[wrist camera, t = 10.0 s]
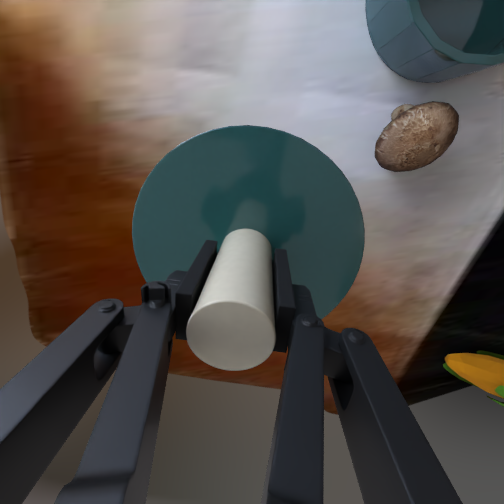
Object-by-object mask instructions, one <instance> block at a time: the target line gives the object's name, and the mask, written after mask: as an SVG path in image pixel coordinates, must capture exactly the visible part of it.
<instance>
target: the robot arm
mask: <svg viewBox="0 0 504 504" xmlns="http://www.w3.org/2000/svg"><path fill="white" fill-rule="evenodd" d="M216 255H217V241H213V240H206V241H205V243H204V245H203V246H202V248H201V250H200V251H199V253H198V255H197V256H196V258H195V260H194V262H193V263H192V265H191V267H190V268H189V270H188V271H180V270H176V271H174V272H173V273H171V274H170V275H169V276H168V278H167V280H165V281H152V282H148V283H146V284H144V285H143V286H142V287H141V294H142V305H140V306H132V307H123V302H121V301H120V300H118V299H105V300H101V301H99V302H97V303H95V304H94V305H92V306H91V307H90V308H89V309H88V310H87V311H86V312H85V313H84V314H82V315H81V316H80V317H79V318H78V319H77V320H76V321H75V322H74V323H72V324H71V325H70V326H69V327H68V328H67V329H66V330H65V331H64V332H63V333H61V334H60V335H59V336H58V337H57V338H56V339H55V340H54V341H53V342H52V343H50V344H49V345H48V346H47V347H46V348H45V349H44V350H43V351H42V352H41V353H39V354H38V355H37V356H36V357H35V358H34V359H33V360H32V361H31V362H30V363H29V364H27V365H26V366H25V367H24V368H23V369H22V370H21V371H20V372H19V373H17V374H16V375H15V376H14V377H13V378H12V379H11V380H10V381H9V382H8V383H6V384H5V385H4V386H3V387H2V388H1V389H0V504H22V503H23V501H24V500H25V499H26V497H27V496H28V494H29V492H30V491H31V490H32V489H33V487H34V486H35V484H36V483H37V481H38V480H39V479H40V477H41V476H42V474H43V473H44V471H45V470H46V468H47V467H48V466H49V464H50V463H51V461H52V460H53V458H54V457H55V455H56V454H57V452H58V451H59V450H60V448H61V447H62V445H63V444H64V442H65V441H66V440H67V438H68V437H69V436H70V434H71V433H72V431H73V429H74V428H75V427H76V425H77V424H78V422H79V421H80V420H81V418H82V417H83V415H84V414H85V412H86V411H87V410H88V408H89V407H90V405H91V404H92V403H93V401H94V400H95V398H96V397H97V395H98V394H99V393H100V391H101V390H102V388H103V387H104V385H105V384H106V382H107V381H108V380H109V378H110V377H111V375H112V374H113V372H114V371H115V370H116V372H115V375H114V377H113V380H112V382H111V385H110V387H109V390H108V393H107V395H106V398H105V400H104V403H103V405H102V408H101V411H100V413H99V416H98V418H97V421H96V424H95V426H94V429H93V432H92V434H91V436H90V439H89V442H88V444H87V447H86V449H85V452H84V455H83V457H82V460H81V462H80V465H79V467H78V470H77V473H76V475H75V477H74V478H73V480H72V481H71V482H70V483H68V484H67V485H65V486H64V487H63V488H62V490H61V491H60V493H59V494H58V496H57V499H56V501H55V503H54V504H145V503H146V497H147V491H148V485H149V479H150V474H151V468H152V462H153V456H154V450H155V444H156V439H157V433H158V427H159V421H160V415H161V409H162V404H163V398H164V392H165V386H166V380H167V375H168V369H169V363H170V357H171V351H172V345H173V341H172V337H173V335H174V333H175V331H176V339H182V340H187V337H186V326H187V323H188V320H189V318H190V315H191V313H192V311H193V308H194V306H195V304H196V301H197V299H198V297H199V294H200V292H201V290H202V287H203V285H204V283H205V280H206V278H207V276H208V273H209V271H210V269H211V266H212V264H213V262H214V259H215V257H216ZM273 276H274V298H275V320H276V344H275V347H274V349H273V351H277V352H285V353H286V351H287V346H288V355H287V360H286V364H285V368H284V377H283V382H282V388H281V394H280V399H279V405H278V410H277V416H276V422H275V427H274V433H273V438H272V444H271V450H270V455H269V461H268V466H267V472H266V478H265V483H264V489H263V495H262V500H261V504H323V460H324V456H323V455H324V441H323V440H324V375H326V376H328V380H329V383H330V387H331V390H332V394H333V397H334V401H335V404H336V408H337V411H338V414H339V418H340V421H341V425H342V428H343V432H344V435H345V438H346V442H347V445H348V449H349V452H350V456H351V459H352V463H353V466H354V469H355V473H356V476H357V479H358V483H359V487H360V490H361V493H362V497H363V500H364V504H463V503H462V502H461V500H460V498H459V496H458V495H457V493H456V491H455V489H454V487H453V486H452V484H451V482H450V480H449V478H448V477H447V475H446V473H445V471H444V469H443V468H442V466H441V464H440V462H439V460H438V459H437V457H436V455H435V453H434V452H433V450H432V448H431V446H430V444H429V442H428V441H427V439H426V437H425V435H424V434H423V432H422V430H421V428H420V426H419V424H418V423H417V421H416V419H415V417H414V415H413V414H412V412H411V410H410V408H409V407H408V405H407V403H406V401H405V399H404V398H403V396H402V394H401V392H400V390H399V389H398V387H397V385H396V383H395V381H394V380H393V378H392V376H391V374H390V372H389V371H388V369H387V367H386V365H385V363H384V362H383V360H382V358H381V356H380V354H379V353H378V351H377V349H376V347H375V345H374V344H373V342H372V340H371V339H370V337H369V336H368V335H367V334H365V333H364V332H362V331H360V330H358V329H354V328H346V329H344V330H343V331H342V333H338V332H335V331H332V330H330V329H328V328H326V327H324V324H323V321H322V320H321V319H320V318H318V317H317V315H316V311H315V307H314V304H313V300H312V297H311V293H310V290H309V289H308V288H307V287H306V286H304V285H296V284H292V280H291V274H290V268H289V262H288V256H287V250H285V249H277V248H275V254H274V260H273ZM116 368H117V369H116Z"/></svg>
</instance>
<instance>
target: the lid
mask: <svg viewBox="0 0 504 504" xmlns="http://www.w3.org/2000/svg"><path fill="white" fill-rule="evenodd" d="M364 234H365V229H364V222H363V215H362V212H361V208H360V205H359V202H358V199H357V197H356V195H355V192H354V190H353V188H352V186H351V184H350V183H349V181H348V180H347V178H346V177H345V175H344V174H343V172H342V171H341V170H340V169H339V168H338V167H337V166H336V164H335V163H334V162H333V161H332V160H331V159H330V158H329V157H328V156H326V155H325V154H324V153H323V152H321V151H320V150H319V149H318V148H316V147H315V146H313V145H311V144H310V143H308V142H306V141H305V140H303V139H301V138H299V137H296V136H294V135H292V134H289V133H287V132H284V131H280V130H276V129H272V128H268V127H261V126H251V125H243V126H228V127H223V128H218V129H213V130H210V131H207V132H204V133H201V134H199V135H196V136H194V137H192V138H190V139H188V140H186V141H185V142H183V143H181V144H179V145H178V146H177V147H175V148H174V149H173V150H171V151H170V152H169V153H167V154H166V155H165V156H164V157H163V159H162V160H161V161H160V162H159V163H158V164H157V165H156V166H155V167H154V169H153V170H152V171H151V173H150V174H149V176H148V177H147V178H146V180H145V182H144V184H143V186H142V188H141V190H140V193H139V196H138V199H137V202H136V205H135V209H134V215H133V224H132V237H133V246H134V251H135V255H136V259H137V262H138V265H139V268H140V270H141V273H142V275H143V277H144V278H145V280H146V282H147V283H148V282H152V281H165V280H167V278H168V276H169V275H170V274H171V273H173V272H174V271H176V270H180V271H188V270H189V268H190V267H191V265H192V263H193V262H194V260H195V258H196V256H197V255H198V253H199V251H200V250H201V248H202V246H203V245H204V243H205V241H206V240H213V241H217V255H216V257H215V259H214V262H213V264H212V266H211V269H210V271H209V273H208V276H207V278H206V280H205V283H204V285H203V287H202V290H201V292H200V294H199V297H198V299H197V301H196V304H195V306H194V308H193V311H192V313H191V315H190V318H189V320H188V323H187V326H186V337H187V341H188V344H189V346H190V348H191V350H192V351H193V352H194V354H195V355H196V356H197V357H198V358H200V359H201V360H202V361H204V362H205V363H207V364H209V365H211V366H213V367H216V368H219V369H224V370H232V371H237V370H245V369H249V368H253V367H255V366H257V365H259V364H261V363H262V362H264V361H265V360H266V359H267V358H268V357H269V356H270V354H271V353H272V351H273V349H274V347H275V344H276V320H275V298H274V276H273V260H274V254H275V248H277V249H285V250H287V256H288V262H289V268H290V274H291V280H292V284H296V285H304V286H306V287H307V288H308V289H309V290H310V293H311V297H312V300H313V304H314V307H315V311H316V315H317V317H318V318H320V319H322V318H324V317H325V316H326V315H328V314H329V313H330V312H331V311H332V310H333V309H334V308H335V307H336V306H337V305H338V304H339V303H340V301H341V300H342V299H343V298H344V297H345V295H346V294H347V292H348V291H349V289H350V287H351V286H352V284H353V282H354V280H355V278H356V276H357V273H358V271H359V268H360V264H361V261H362V257H363V250H364Z"/></svg>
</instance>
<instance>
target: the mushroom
mask: <svg viewBox="0 0 504 504" xmlns="http://www.w3.org/2000/svg"><path fill="white" fill-rule="evenodd" d="M391 119H392V121H391V122H390V123H389V124H388V125H387V126H386V127H385V128H384V130H383V132H382V133H381V135H380V137H379V138H378V140H377V142H376V147H375V158H376V160H377V161H378V163H379V165H380V166H381V167H382V168H384V169H387V170H390V171H394V172H403V171H411V170H415V169H418V168H421V167H424V166H426V165H428V164H430V163H432V162H433V161H435V160H436V159H437V158H439V157H440V156H441V155H442V154H443V153H444V152H445V151H446V150H447V148H448V147H449V146H450V145H451V143H452V142H453V140H454V138H455V136H456V134H457V131H458V123H459V115H458V113H457V111H456V110H455V109H454V108H453V107H452V106H451V105H450V104H449V103H443V102H428V103H424V104H420V105H415V106H414V105H411V104H404V105H401V106H399V107H397V108H396V109H395V110H394V111H393V113H392V114H391Z"/></svg>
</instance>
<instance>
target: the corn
mask: <svg viewBox="0 0 504 504" xmlns="http://www.w3.org/2000/svg"><path fill="white" fill-rule="evenodd" d="M476 352H477V354H473V353H456V354H448V355H447V356H446V357H445V360H446V363H444V365H443V366H444V368H445V369H446V370H447V371H448V372H450V373H451V374H453V375H454V376H456V377H457V378H459V379H461V380H463V381H465V382H467V383H470V384H472V385H474V386H477V387H479V388H481V389H483V390H484V391H486V392H488V393H490V394H493V395H495V396H498V397H501V398H503V399H504V356H503V355H499V354H495V353H491V352H487V351H481V350H479V351H476ZM487 397H489V396H487ZM489 398H490V397H489ZM490 399H492V400H493V401H495V402H497V403H498V404H500V405H502V406H504V402H499V401H497V400H495V399H493V398H490Z"/></svg>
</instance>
